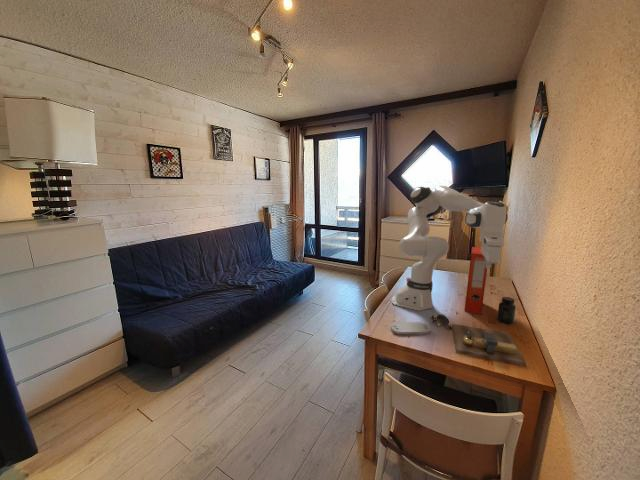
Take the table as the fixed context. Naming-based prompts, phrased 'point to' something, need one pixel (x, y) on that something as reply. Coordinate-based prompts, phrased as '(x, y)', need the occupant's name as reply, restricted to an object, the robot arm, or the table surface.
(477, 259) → the file binder
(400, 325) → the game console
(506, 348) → the brass link
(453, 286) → the table surface
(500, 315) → the supplement bottle
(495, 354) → the walnut base plate
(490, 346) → the keeper hook
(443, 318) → the eagle figurine
